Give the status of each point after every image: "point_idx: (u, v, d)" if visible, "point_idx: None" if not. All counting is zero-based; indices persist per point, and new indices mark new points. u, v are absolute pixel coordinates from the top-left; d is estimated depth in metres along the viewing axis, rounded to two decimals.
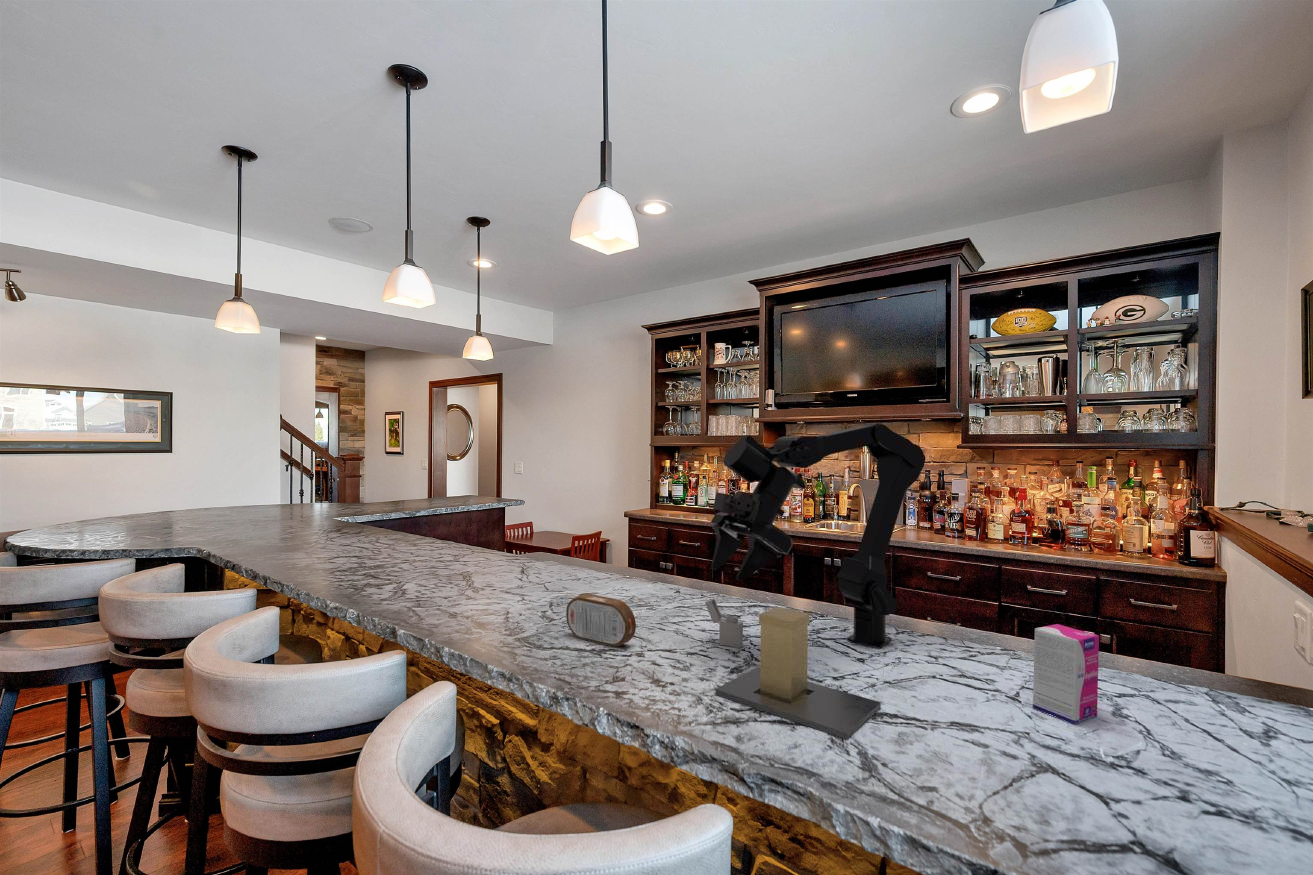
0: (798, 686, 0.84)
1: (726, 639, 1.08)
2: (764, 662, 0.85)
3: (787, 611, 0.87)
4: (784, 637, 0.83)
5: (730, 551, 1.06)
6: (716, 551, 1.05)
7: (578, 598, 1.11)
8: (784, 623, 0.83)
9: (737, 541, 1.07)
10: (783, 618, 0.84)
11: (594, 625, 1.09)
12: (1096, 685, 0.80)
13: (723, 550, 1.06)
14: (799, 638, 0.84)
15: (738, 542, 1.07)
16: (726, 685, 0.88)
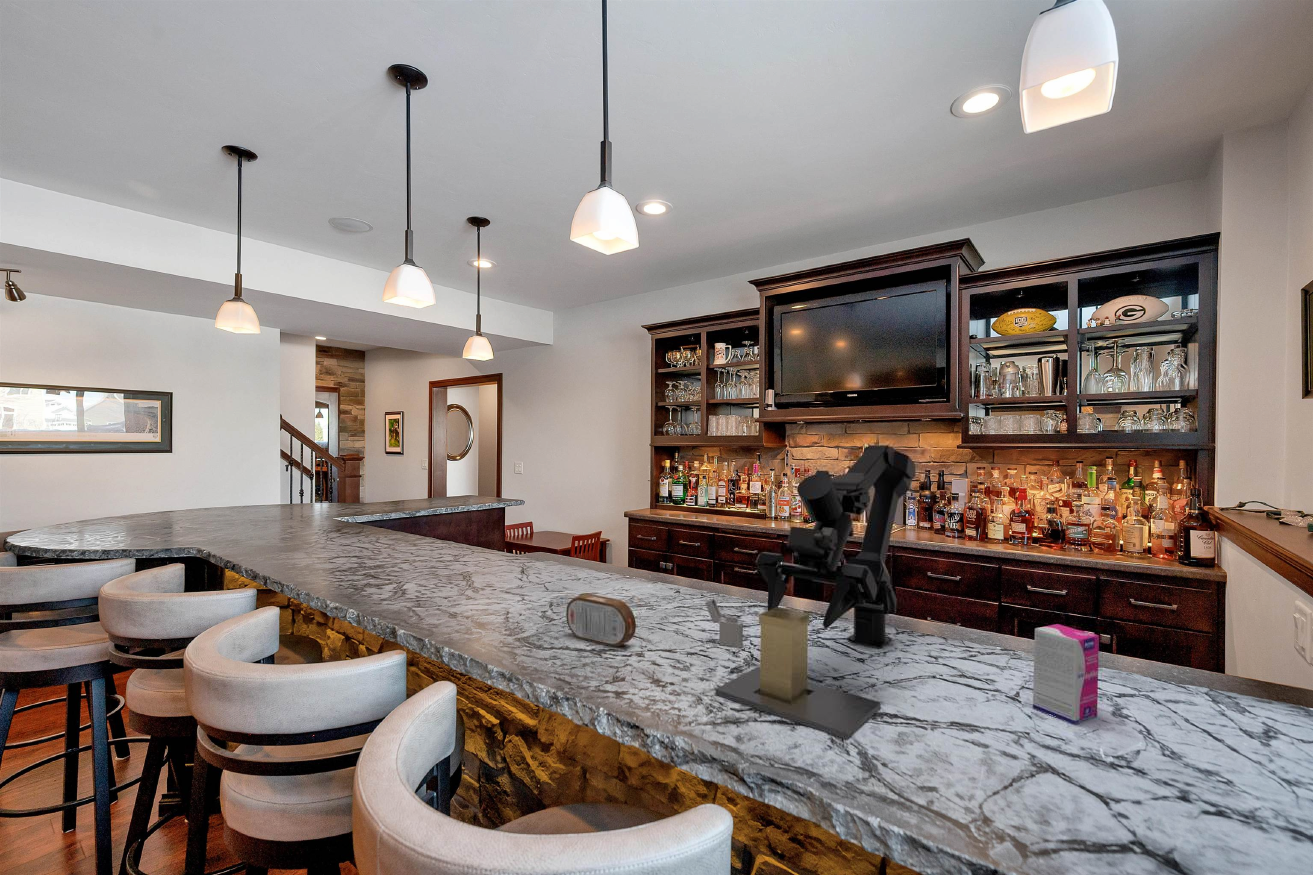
0: (798, 686, 0.84)
1: (726, 639, 1.08)
2: (764, 662, 0.85)
3: (787, 611, 0.87)
4: (784, 637, 0.83)
5: (780, 596, 0.95)
6: (771, 594, 0.93)
7: (578, 598, 1.11)
8: (784, 623, 0.83)
9: (784, 585, 0.97)
10: (783, 618, 0.84)
11: (594, 625, 1.09)
12: (1096, 685, 0.80)
13: (777, 594, 0.94)
14: (799, 638, 0.84)
15: (785, 587, 0.97)
16: (726, 685, 0.88)
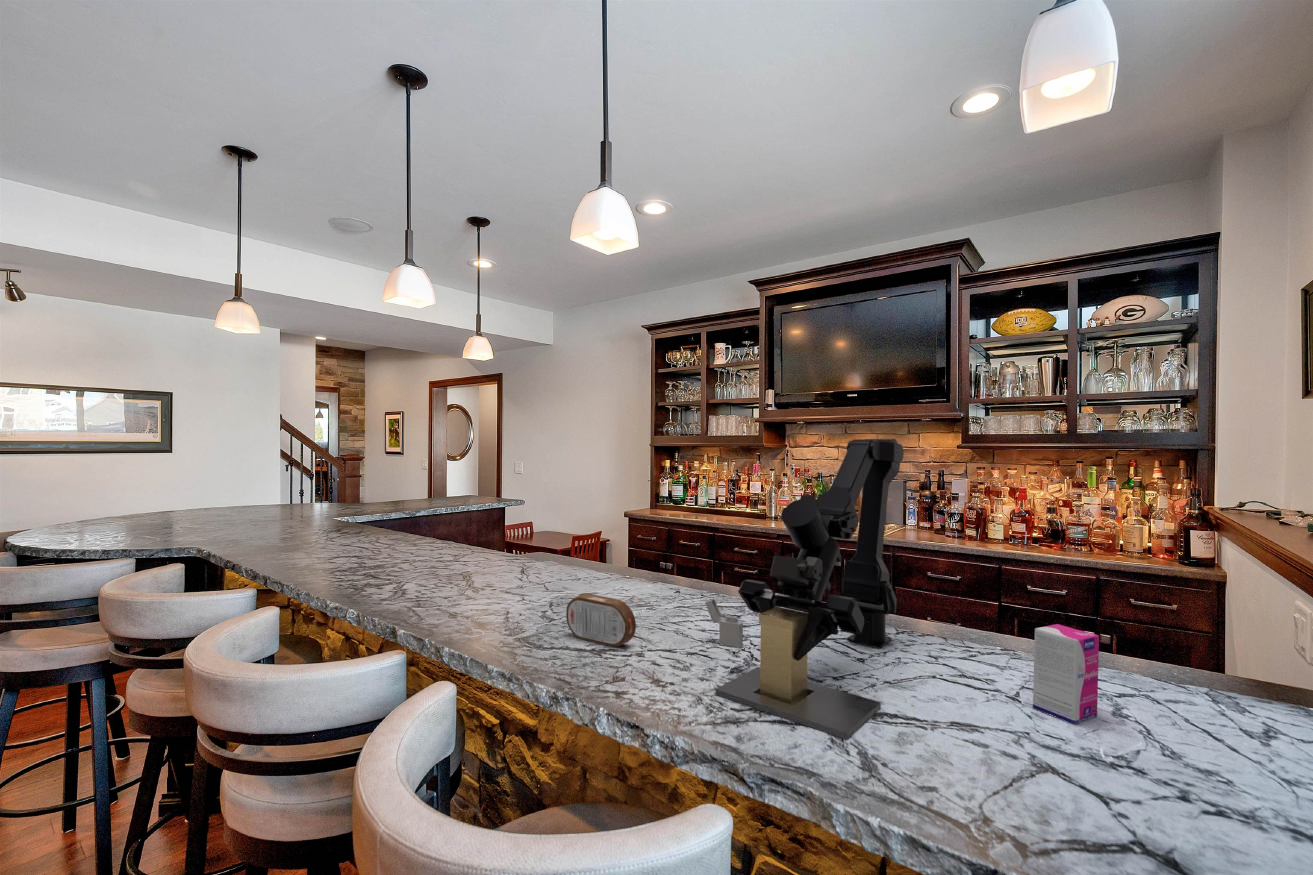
0: (798, 686, 0.84)
1: (726, 639, 1.08)
2: (764, 662, 0.85)
3: (787, 611, 0.87)
4: (784, 637, 0.83)
5: None
6: None
7: (578, 598, 1.11)
8: (784, 623, 0.83)
9: None
10: (783, 618, 0.84)
11: (594, 625, 1.09)
12: (1096, 685, 0.80)
13: None
14: (799, 638, 0.84)
15: None
16: (726, 685, 0.88)
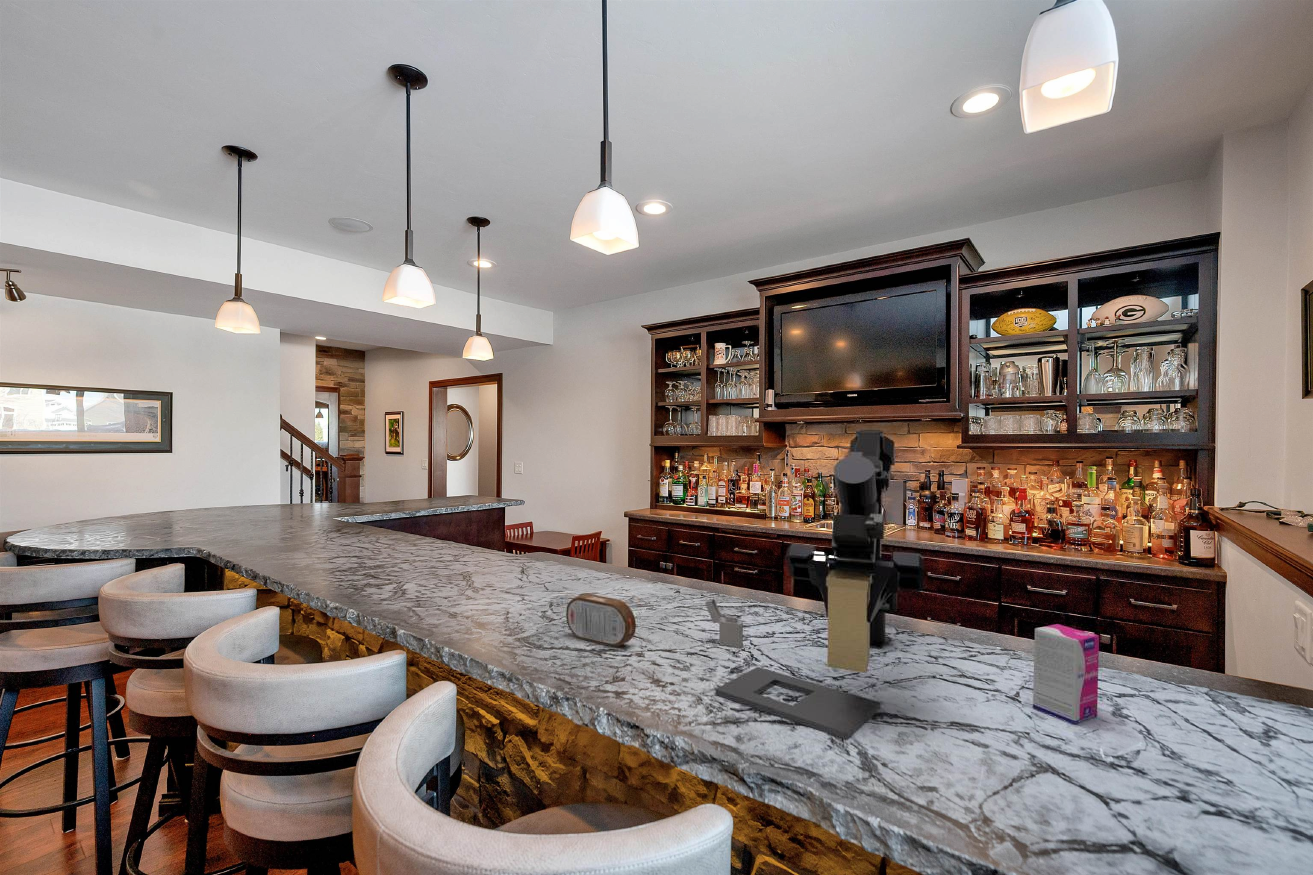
0: (867, 650, 0.79)
1: (726, 639, 1.08)
2: (832, 628, 0.79)
3: (848, 573, 0.82)
4: (857, 599, 0.78)
5: None
6: (827, 592, 0.82)
7: (578, 598, 1.11)
8: (857, 584, 0.78)
9: None
10: (855, 579, 0.79)
11: (594, 625, 1.09)
12: (1096, 685, 0.80)
13: None
14: (868, 599, 0.80)
15: None
16: (726, 685, 0.88)
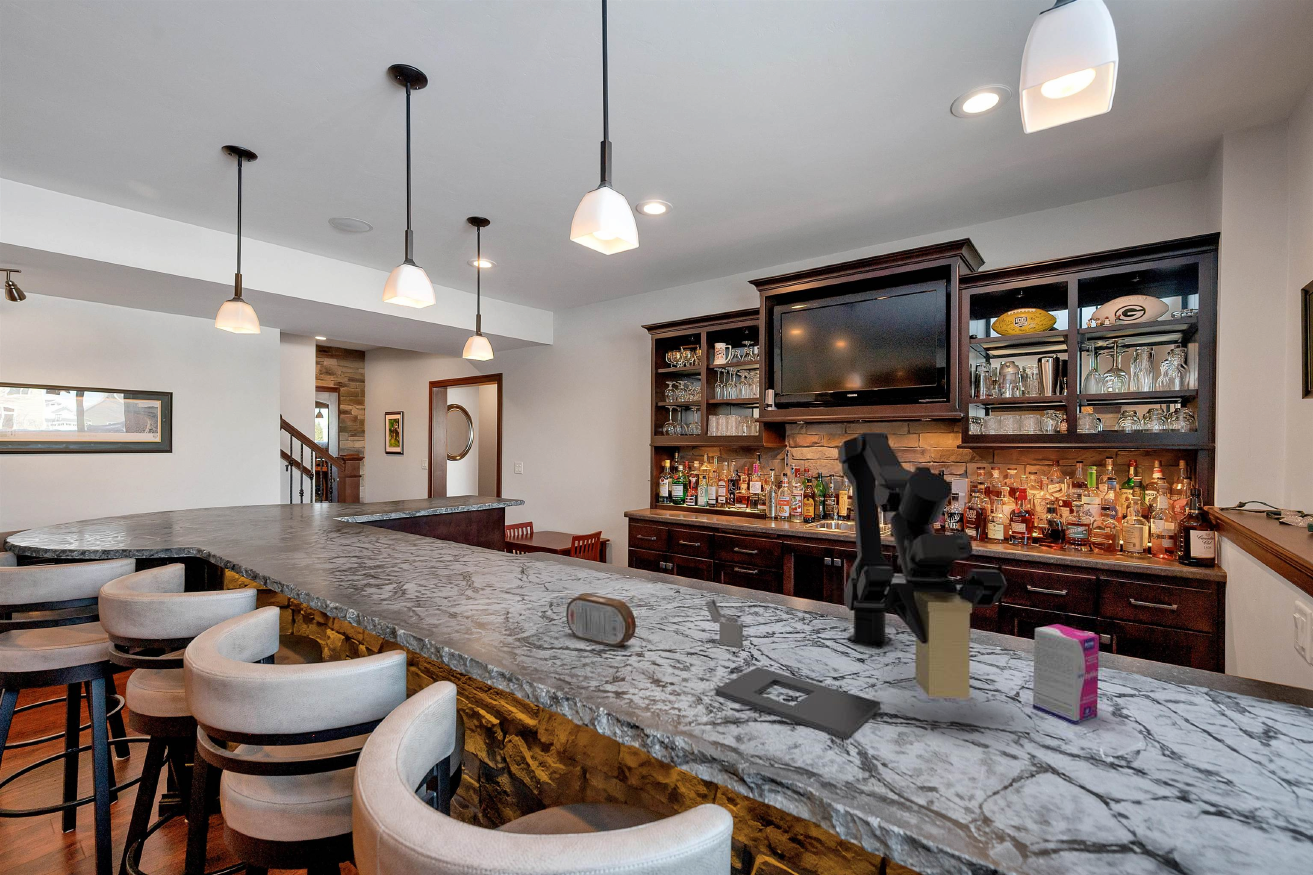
0: None
1: (726, 639, 1.08)
2: (934, 655, 0.75)
3: (934, 594, 0.79)
4: (960, 622, 0.75)
5: None
6: (918, 617, 0.78)
7: (578, 598, 1.11)
8: (961, 607, 0.75)
9: None
10: (956, 601, 0.75)
11: (594, 625, 1.09)
12: (1096, 685, 0.80)
13: None
14: None
15: None
16: (726, 685, 0.88)
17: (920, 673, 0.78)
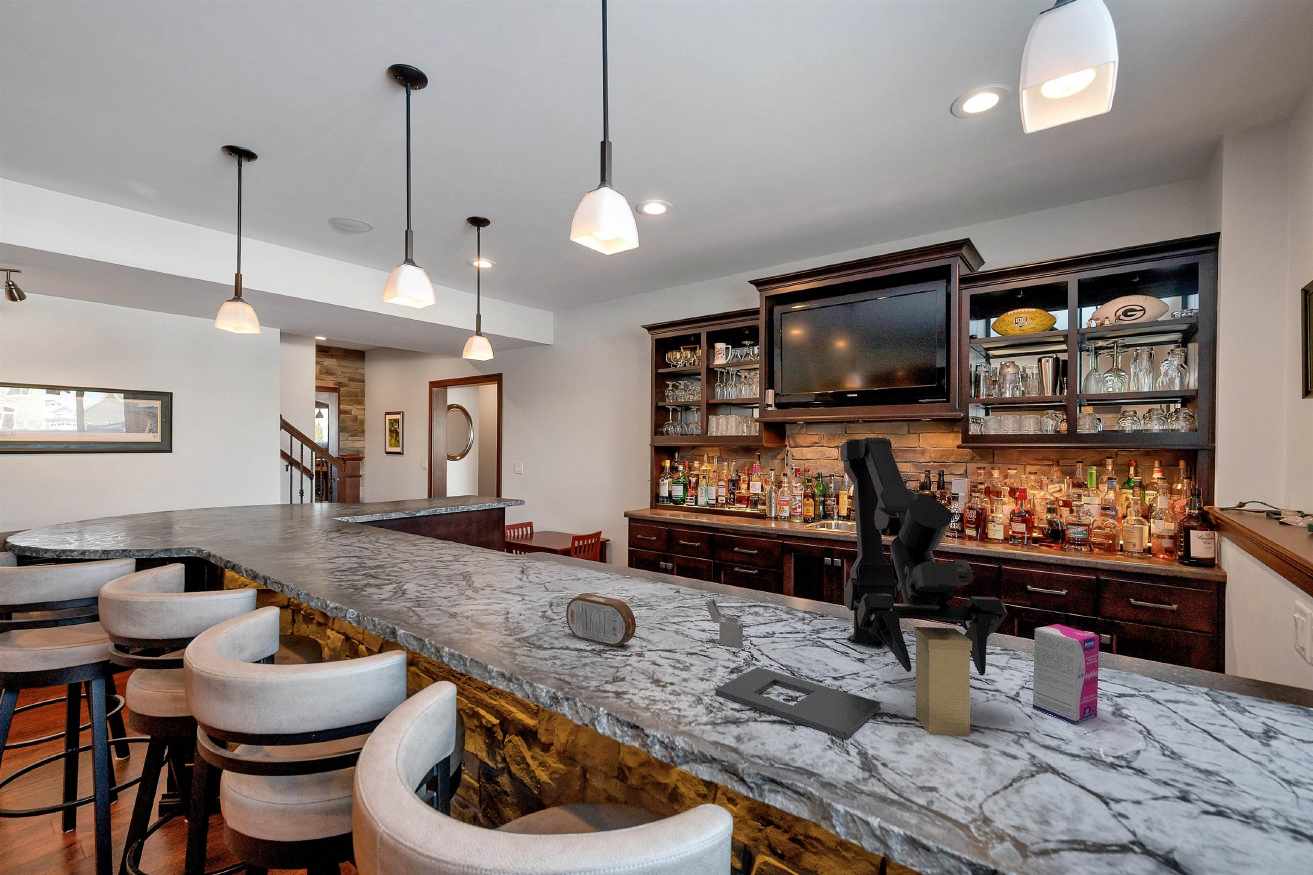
0: None
1: (726, 639, 1.08)
2: (934, 692, 0.75)
3: (934, 629, 0.79)
4: (960, 660, 0.75)
5: None
6: (903, 645, 0.78)
7: (578, 598, 1.11)
8: (961, 645, 0.75)
9: None
10: (956, 639, 0.75)
11: (594, 625, 1.09)
12: (1096, 685, 0.80)
13: None
14: None
15: None
16: (726, 685, 0.88)
17: (920, 709, 0.78)
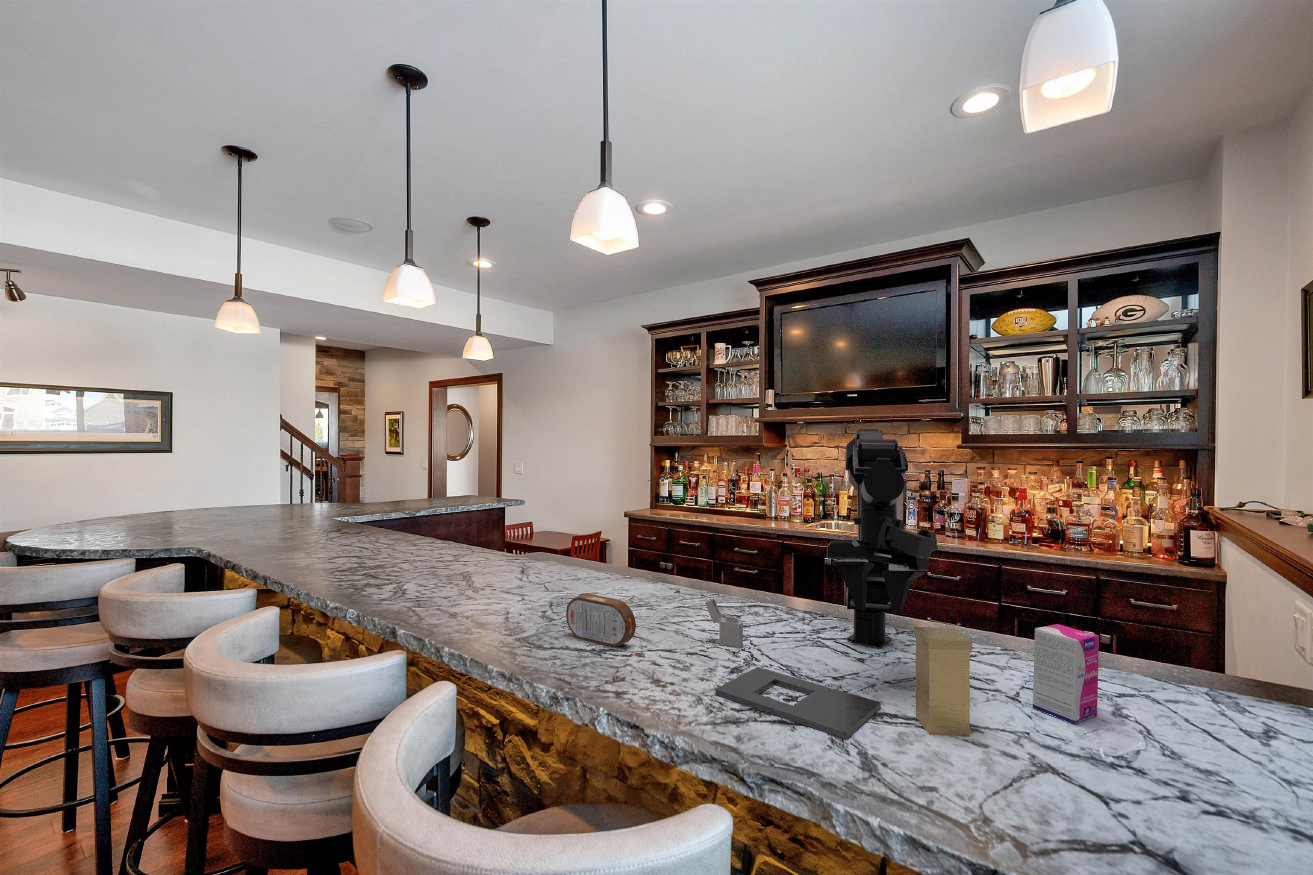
0: None
1: (726, 639, 1.08)
2: (934, 692, 0.75)
3: (934, 629, 0.79)
4: (960, 660, 0.75)
5: None
6: (865, 590, 0.88)
7: (578, 598, 1.11)
8: (961, 645, 0.75)
9: None
10: (956, 639, 0.75)
11: (594, 625, 1.09)
12: (1096, 685, 0.80)
13: None
14: None
15: None
16: (726, 685, 0.88)
17: (920, 709, 0.78)
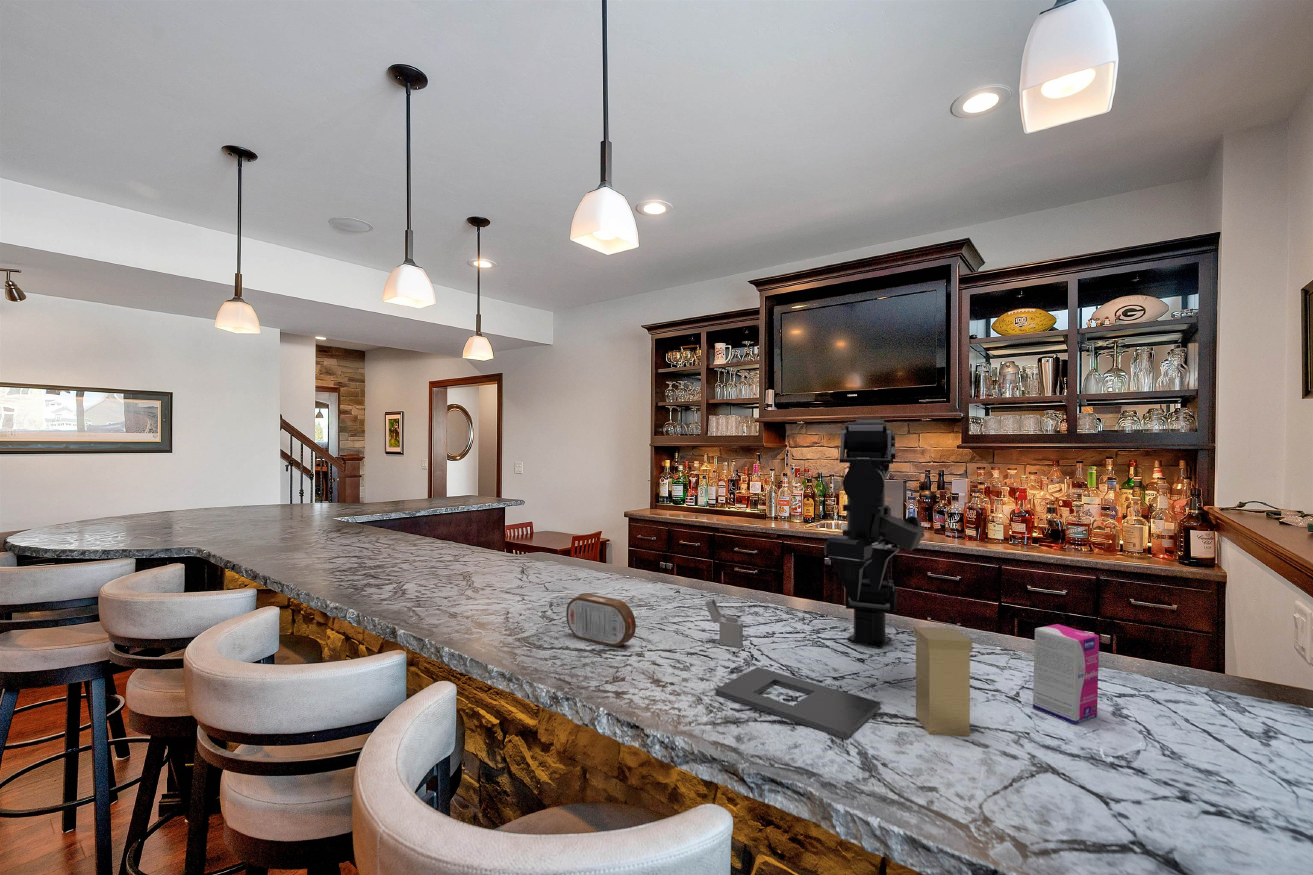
0: None
1: (726, 639, 1.08)
2: (934, 692, 0.75)
3: (935, 629, 0.79)
4: (960, 660, 0.75)
5: None
6: (860, 583, 0.90)
7: (578, 598, 1.11)
8: (961, 645, 0.75)
9: None
10: (956, 639, 0.75)
11: (594, 625, 1.09)
12: (1096, 685, 0.80)
13: None
14: None
15: None
16: (726, 685, 0.88)
17: (920, 709, 0.78)
